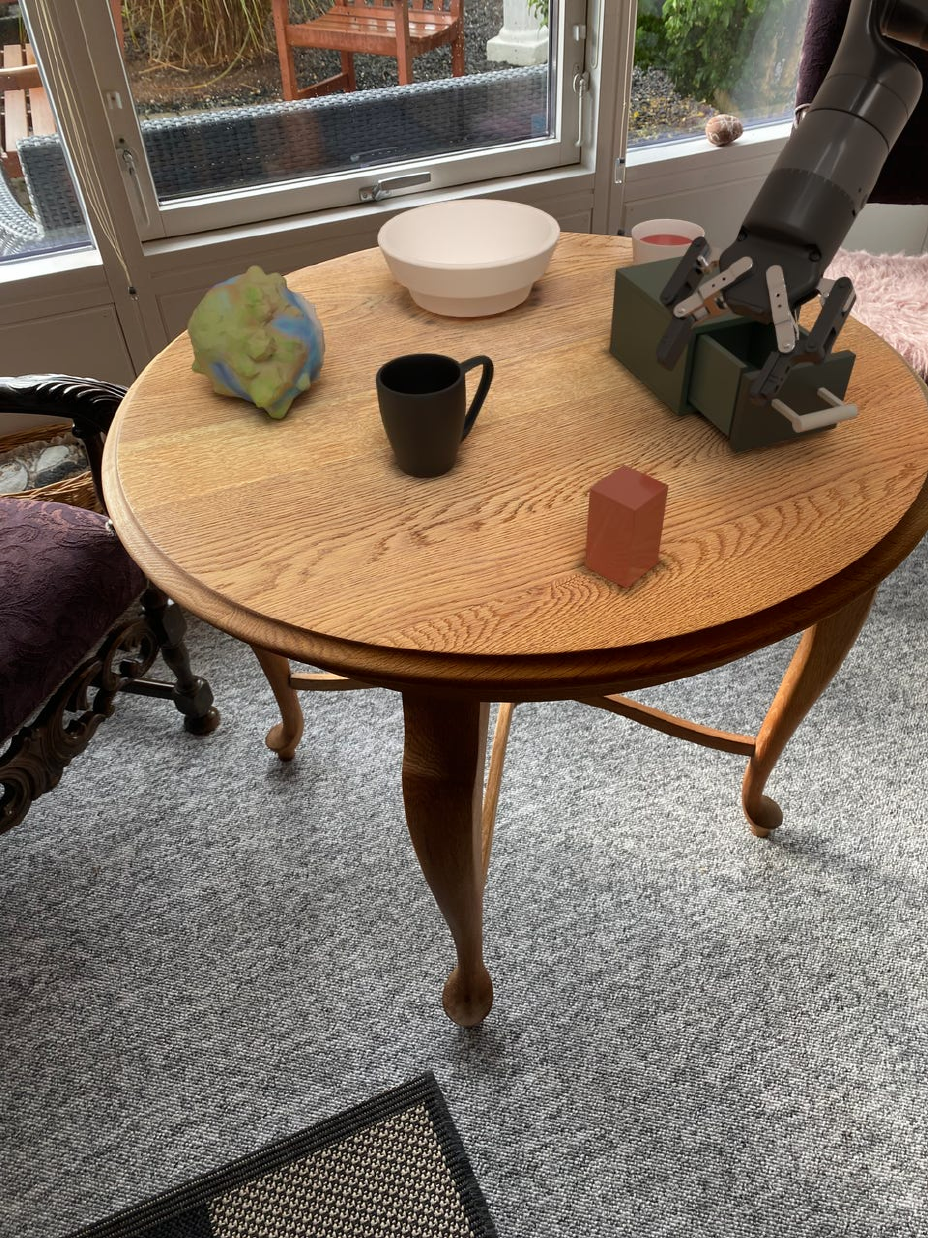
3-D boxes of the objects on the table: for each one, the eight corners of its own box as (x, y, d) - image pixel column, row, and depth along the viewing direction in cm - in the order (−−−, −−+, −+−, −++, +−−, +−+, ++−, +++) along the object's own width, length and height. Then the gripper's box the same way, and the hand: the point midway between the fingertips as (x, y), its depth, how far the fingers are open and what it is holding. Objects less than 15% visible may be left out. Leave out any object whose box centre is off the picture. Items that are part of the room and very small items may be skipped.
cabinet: (782, 391, 95) (802, 303, 88) (677, 416, 92) (690, 327, 85) (704, 330, 106) (717, 248, 99) (609, 351, 103) (615, 268, 96)
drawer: (868, 453, 84) (892, 378, 79) (764, 481, 82) (782, 405, 76) (752, 363, 98) (766, 294, 92) (659, 385, 95) (668, 314, 90)
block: (615, 541, 78) (623, 464, 72) (657, 563, 75) (669, 484, 70) (583, 566, 75) (589, 487, 70) (626, 589, 73) (635, 510, 68)
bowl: (374, 272, 122) (367, 208, 116) (533, 253, 124) (534, 190, 119) (396, 346, 106) (389, 276, 100) (579, 323, 108) (583, 254, 103)
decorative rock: (309, 234, 91) (164, 248, 91) (308, 346, 83) (149, 362, 83) (334, 337, 103) (206, 349, 103) (335, 443, 95) (197, 457, 96)
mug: (516, 454, 88) (517, 365, 82) (412, 496, 84) (403, 405, 77) (471, 419, 93) (468, 333, 87) (370, 457, 89) (359, 369, 82)
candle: (655, 262, 121) (660, 213, 116) (711, 279, 116) (719, 230, 112) (613, 283, 116) (616, 233, 112) (669, 302, 111) (676, 251, 107)
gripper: (720, 147, 70) (618, 337, 72) (896, 185, 62) (776, 396, 64) (745, 200, 76) (650, 373, 78) (908, 240, 68) (798, 430, 71)
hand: (707, 383), depth 71 cm, fingers open, 8 cm apart
